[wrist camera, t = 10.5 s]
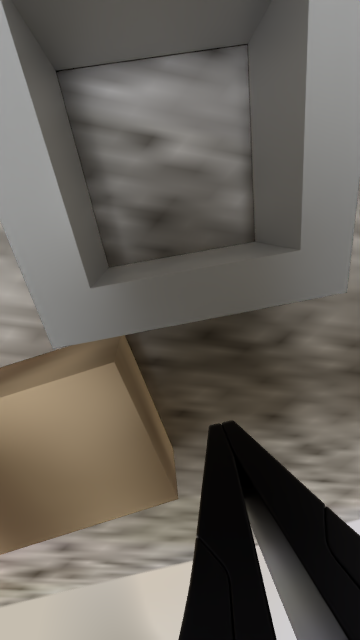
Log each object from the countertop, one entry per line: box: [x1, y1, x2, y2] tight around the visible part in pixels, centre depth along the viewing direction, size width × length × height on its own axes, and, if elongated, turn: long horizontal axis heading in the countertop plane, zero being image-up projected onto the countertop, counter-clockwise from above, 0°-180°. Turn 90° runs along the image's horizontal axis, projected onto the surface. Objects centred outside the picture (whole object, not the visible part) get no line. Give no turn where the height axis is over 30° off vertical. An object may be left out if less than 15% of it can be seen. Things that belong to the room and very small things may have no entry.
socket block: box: [0, 0, 360, 349], centre depth 5 cm, size 7×7×2 cm
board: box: [0, 335, 178, 555], centre depth 9 cm, size 10×6×2 cm, turn 106°
